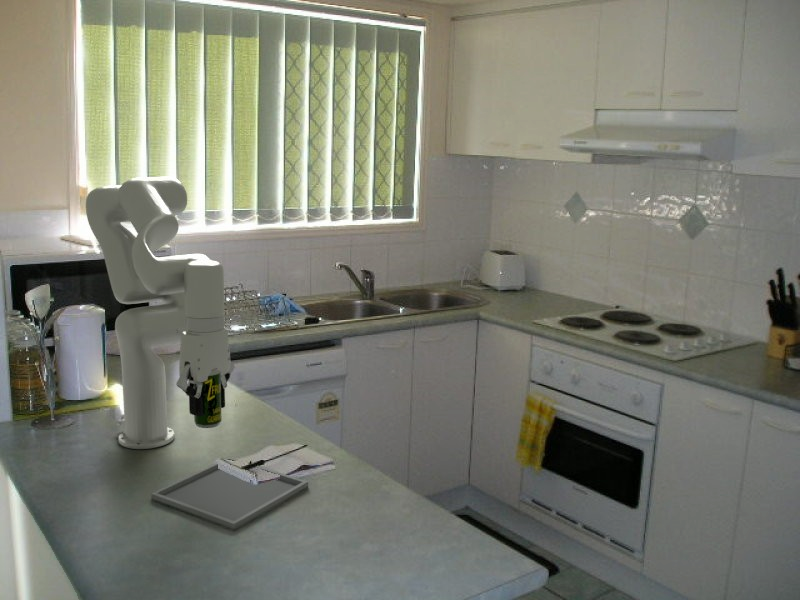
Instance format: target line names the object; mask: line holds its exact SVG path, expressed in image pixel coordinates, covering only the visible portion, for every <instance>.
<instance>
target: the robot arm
mask: <svg viewBox="0 0 800 600" xmlns="http://www.w3.org/2000/svg"><path fill="white" fill-rule="evenodd" d="M187 205H188V194H187V190H186V189H185V186H184V185H183V183H182V182H181V181H180V180H179V179H177V178H175V177H171V176H156V177H155V176H153V177H150V176H149V177H148V176H147V177H134V178H130V179H128V180H126V181H124V182H123V183H122V184H113V185H104V186H99V187H96V188H94V189H92V190H90V192H89V193H88V194H87V196H86V199H85V214H86V218H87V219H86V220H87V222H88V225H89V227H90V229H91V231H92V234H93V235H94V237H95V239H96V240H97V241H96V242H98V245H99V247H100V249H101V250H102V254H103V257H104V258H103V259H104V262H105V266H106V270H107V274H108V275H107V276H108V279H109V283H110V286H111V290H112V292H113V293H112V294H113V296H114V298H115V299H116V301H117V302H119V303H120V304H125V305H132V304H133V305H134V304H135V305H136V304H142V303H154V302H161V304H157V305H148V306H140V307H134V308H129V309H126V310H124V311H123V312H121V313H120V314H119V315H117V317H116V319H115V324H114V330H115V335H116V340H117V343H118V348H119V349H118V350H119V353H120V354H119V355H120V362H121V378H122V379H121V380H122V395H123V397H122V399H123V413H122V414H121V416H120V419H117V420H116V425H117V426H120V427H122V432H120V433H119V434H118V439H117V441H118V444H119V445H120V446H122V447H124V448H128V449H134V450H147V449H155V448H156V449H157V448H159V447H162V446H163V447H164V446H165V445H167V444H169V443H171V442H172V441H173V440H175V435H176V434H175V431H174V430H173V429H172V428H171V427H169V426H168V409H167V407H168V406H167V384H166V383H167V382H166V366H165V363H164V361H163V360H162V359H161V358H160V356H158V354H157V353H156V352H155V351H154V349H156V348H161V347H165V346H171V345H172V346H173V345H178V344H180V348H179V363H178V364H179V367H178V369H179V371H178V372H179V377H178V379H177V381H176V386H177V387H178V388H179V389H180V390H182V392H184V393H185V395H186V396H188V401H189V403H188V404H189V407H188V408H189V414H190V415H192V416H194V415H196V416H199V417H201V416H203V397H200V395H201V390H202V385H203V382H205V381H207V380H208V376H209V374H210V373H211V370H214V369H216V368H219V369H218V370H219V371H220V372H221V409H224V408H225V407H226V391H225V390H226V388H227V387H228V381H229V380H230V377H231V375H232V373H233V371H234V370H235V368H236V367H235V366H236V365H234V363H233V362H232V361H231V353H230V351H231V350H230V343H229V335H228V331H227V328H226V327H225V326H226V322H225V320H226V319H227V314H226V312H225V287H224V286H225V280H224V279H225V278H224V276H225V275H224V267H223V265H222V264H221V262H219V261H217V260H212V259H211V258H210V257H209V256H207V255H206V254H204V253H190V254H188V253H187V254H178V255H176V254H175V255H167V256H166V255H165V256H155V255H154V254H153V253H154V252H155V251H157V250H159V249H161V248H163V247H164V246H165V245H167V244H169V243H170V242H171V241H173V240H174V238H176V235H177V233H178V231H179V221H178V219H177V216H179V215H181V214H182V213H183V212H184V211H185V210H186V208H187ZM129 222H130V224H132V226H133V228H134V230H135V231H136V233H137V234H136V236H135V235H134V234H133V233H132V232H131V230H129V229H128V228H126V227H125V226H123V225H122V223H129ZM194 384H196V388H195V389H194V388H193V387H194Z"/></svg>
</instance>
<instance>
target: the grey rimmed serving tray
mask: <svg viewBox="0 0 800 600" xmlns="http://www.w3.org/2000/svg"><path fill="white" fill-rule="evenodd" d="M222 460H232V461H236V460H237V461H238V460H239V459H237V458H234V457H231V456H228V457H226V458H223V459H222ZM257 468H260V469H262V470H265V471H267V472H271V473H274V474H278V475H280V479H278V480H275V481H270V482H266V483H261V484H259V485H253V484H251V483H249V482H246V481H243V480H241V479H239V478H237V477H235V476H233V475H230V474H228V473H226V472H224V471H222V470H220V469H218V464H217V462H215V463H212V464H211V465H208V466H206V467H205V468H204V467H203V468H202V469H200V470H198V471H195V472H194V473H191V474H190V475H188V476H185V477H183V478H181V479H179V480H176V481H175V482H172V483H170V484H167V485H166V486H163V487H161V488H159V489H157V490H155V491H153V492H152V493H150V500H151V501H152V502H154V503H157V504H160V505H162V506H165V507H168V508H170V509H173V510H174V511H175V510H176V511H178V512H181V513H184V514H186V515H188V516H192V517H194V518H198V519H199V520H203V521H206V522H208V523H211V524H213V525H215V526H219V527H222V528H225V529H227V530H230V531H231V532H232V531H233V532H236V531H238V530H239V529H241V528H242V527H245V526H246V525H248V524H249V523H251V522H253V521H255V520H257V519H259V518H260V517H261V516H263V515H265V514H267V513H268V512H270V511H272V510H274V509H276V508H277V507H279V506H280V505H282V504H284V503H285V502H288V501H289V500H291V499H293V498H294V497H296V496H297V495H300V494H301V493H303V492H305V491H306V490H308V489H309V481H308V480H305V479H301V478H297V477H295V476H292V475H288V474H285V473H282V472H279V471H275V470H272V469H269V468H266V467H263V466H260V465H257Z"/></svg>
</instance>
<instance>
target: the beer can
mask: <svg viewBox="0 0 800 600" xmlns="http://www.w3.org/2000/svg"><path fill="white" fill-rule="evenodd" d="M218 369H219V368H216V369H214V370H211V373H210V374H209V376H208V380H207V381H205V382H203V385H202V390H201V395H200V397H203V416H201V417H199V416H196V415H193V416H194V417H193V419H194V424H195V425H196V426H197V427H198V428H200V429H211V428H217V427H218V426H220V425H221V423H222V415H223V414H222V408H221V372H220V371H219V370H218ZM193 388H194V389H195V388H196V384H194V387H193Z"/></svg>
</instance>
